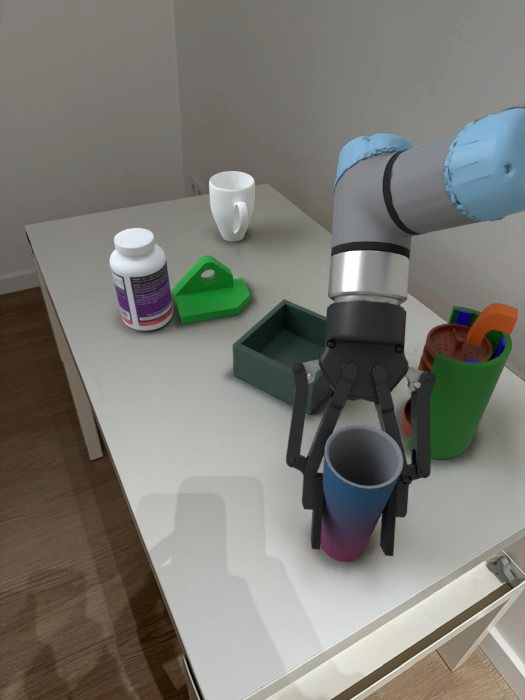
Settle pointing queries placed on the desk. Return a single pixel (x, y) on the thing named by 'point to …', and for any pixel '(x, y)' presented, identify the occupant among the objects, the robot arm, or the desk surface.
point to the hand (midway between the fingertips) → (350, 547)
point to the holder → (282, 352)
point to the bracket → (209, 292)
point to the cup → (356, 487)
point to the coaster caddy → (463, 374)
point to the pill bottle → (141, 280)
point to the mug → (232, 203)
